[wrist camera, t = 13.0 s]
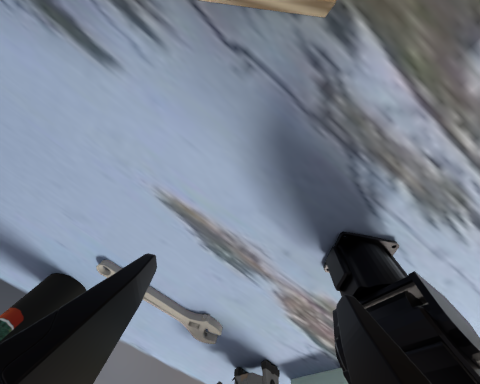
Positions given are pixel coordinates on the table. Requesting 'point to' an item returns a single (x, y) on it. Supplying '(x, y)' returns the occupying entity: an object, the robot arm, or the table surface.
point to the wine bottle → (39, 304)
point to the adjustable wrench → (174, 309)
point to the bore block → (285, 5)
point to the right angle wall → (322, 378)
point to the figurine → (269, 380)
